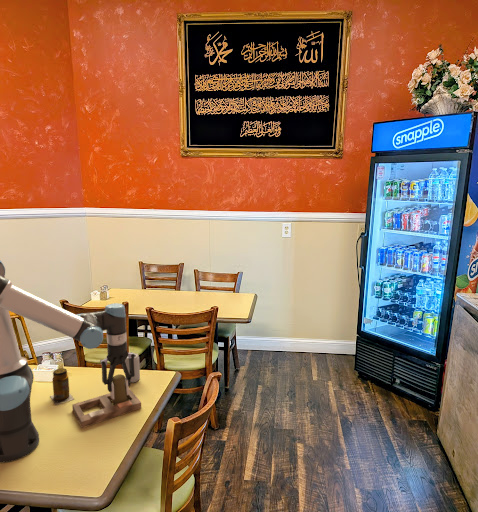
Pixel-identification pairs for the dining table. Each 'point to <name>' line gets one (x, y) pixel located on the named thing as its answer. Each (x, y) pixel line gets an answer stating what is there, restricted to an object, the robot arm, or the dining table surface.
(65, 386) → the condiment
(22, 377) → the robot arm
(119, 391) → the cork
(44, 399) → the dining table surface
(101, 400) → the caddy
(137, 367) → the beverage can
